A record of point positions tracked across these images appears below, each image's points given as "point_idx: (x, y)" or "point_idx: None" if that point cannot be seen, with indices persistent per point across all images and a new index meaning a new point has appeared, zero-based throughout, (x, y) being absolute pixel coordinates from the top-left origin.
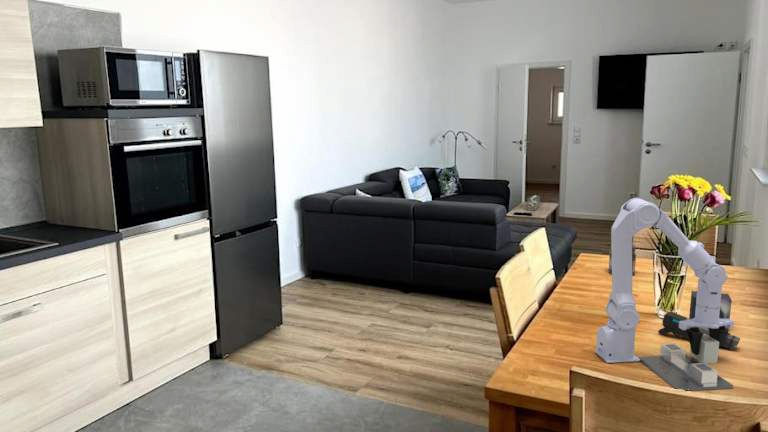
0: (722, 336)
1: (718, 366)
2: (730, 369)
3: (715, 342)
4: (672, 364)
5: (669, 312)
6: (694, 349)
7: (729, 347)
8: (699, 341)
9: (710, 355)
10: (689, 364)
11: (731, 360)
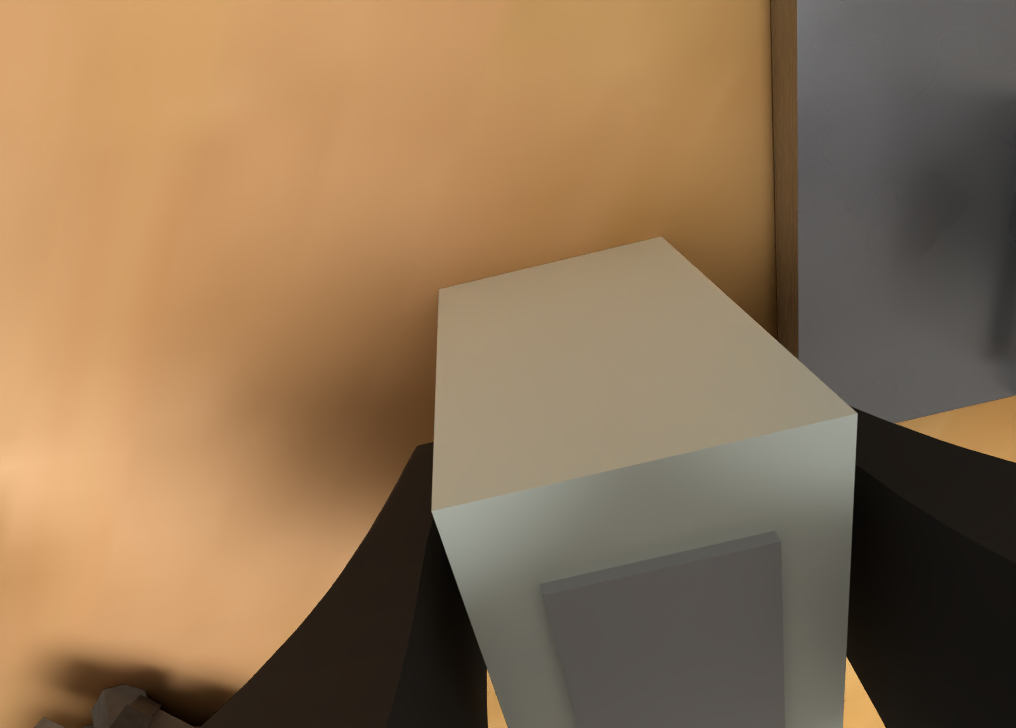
0: (293, 715)
1: (474, 149)
2: (314, 31)
3: (543, 479)
4: None
5: None
6: None
7: (139, 708)
8: (929, 487)
9: (583, 307)
10: (1007, 54)
11: (200, 401)
